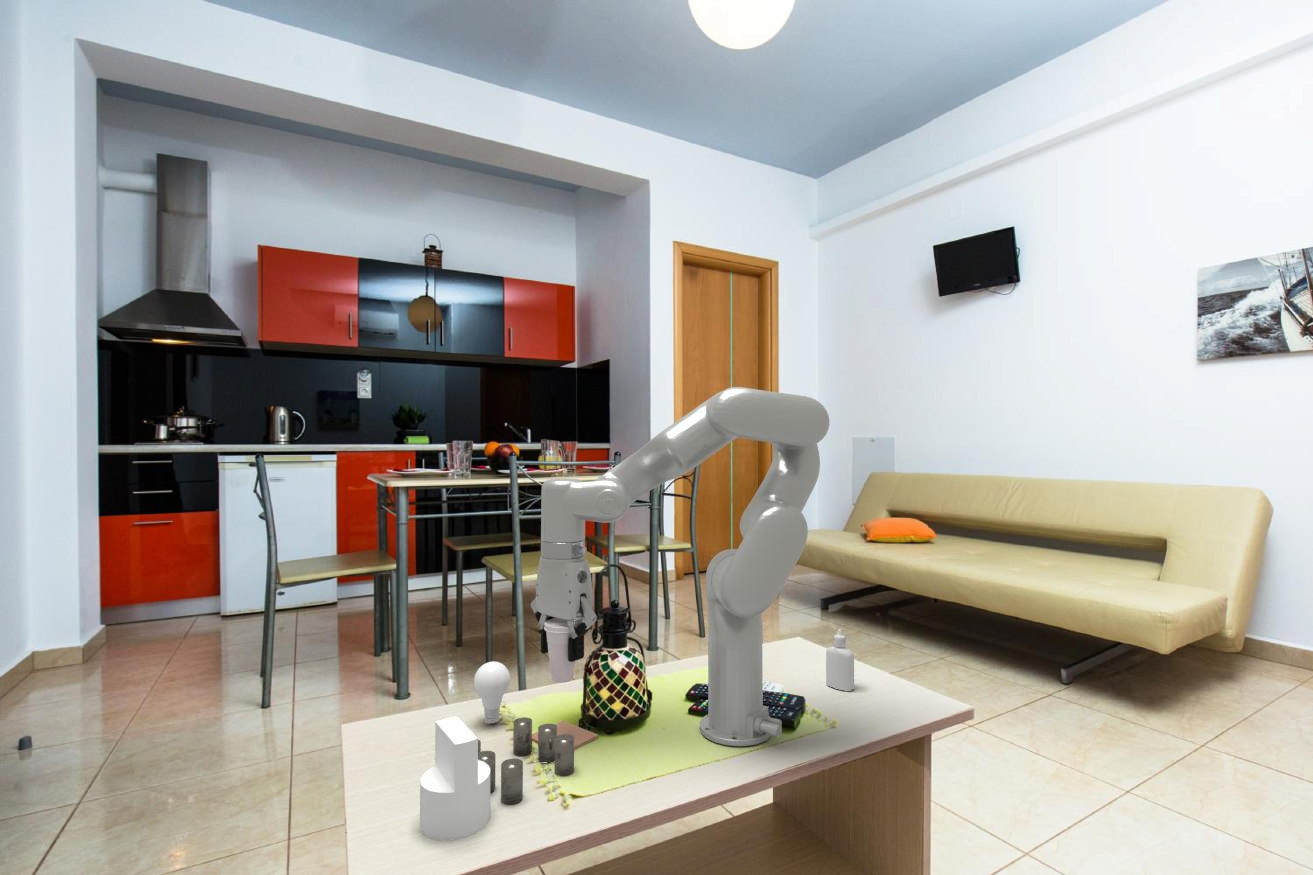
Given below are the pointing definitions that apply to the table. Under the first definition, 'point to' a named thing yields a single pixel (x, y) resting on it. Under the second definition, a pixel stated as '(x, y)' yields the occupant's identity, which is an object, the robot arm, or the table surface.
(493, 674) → the lightbulb
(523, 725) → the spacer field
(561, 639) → the smoothie
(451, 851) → the table surface
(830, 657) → the eye dropper bottle
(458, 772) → the base with upright slab
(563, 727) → the tile
